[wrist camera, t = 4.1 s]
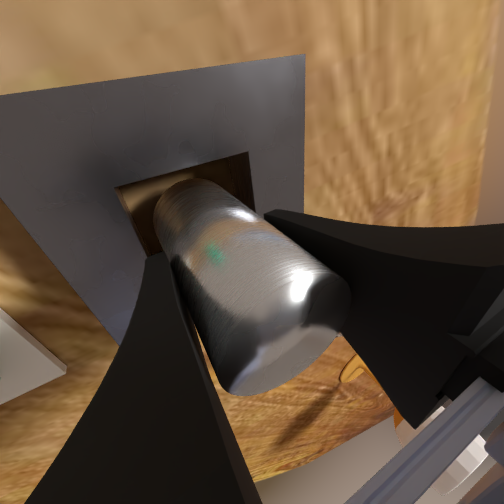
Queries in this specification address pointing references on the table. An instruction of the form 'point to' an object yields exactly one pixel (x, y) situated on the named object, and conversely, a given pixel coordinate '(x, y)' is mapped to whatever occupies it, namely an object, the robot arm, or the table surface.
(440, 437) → the robot arm
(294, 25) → the table surface
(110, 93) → the socket block
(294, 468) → the table surface
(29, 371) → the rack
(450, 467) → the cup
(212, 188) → the smooth metal cylinder
